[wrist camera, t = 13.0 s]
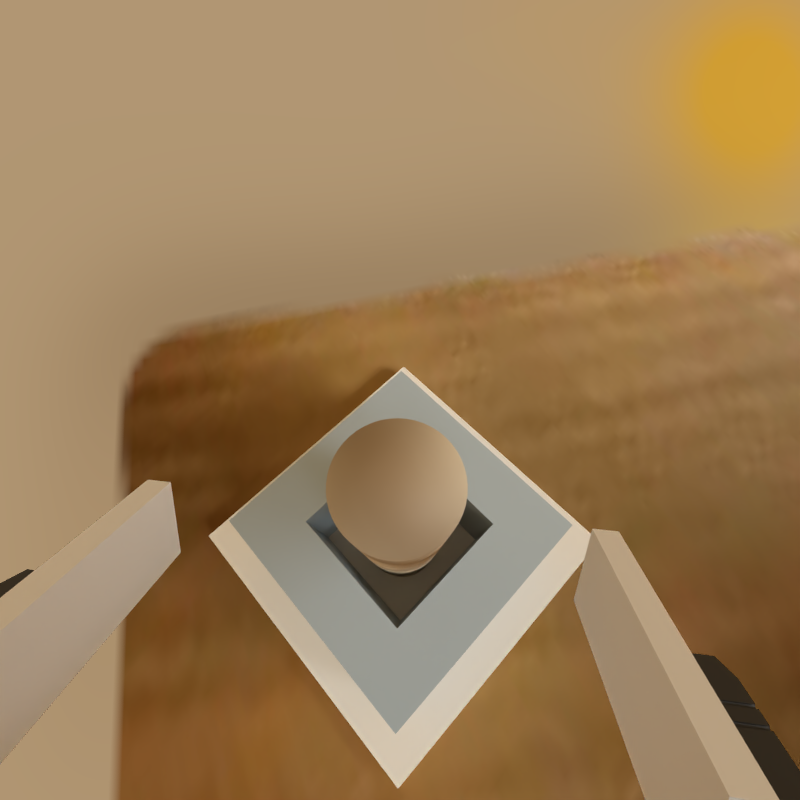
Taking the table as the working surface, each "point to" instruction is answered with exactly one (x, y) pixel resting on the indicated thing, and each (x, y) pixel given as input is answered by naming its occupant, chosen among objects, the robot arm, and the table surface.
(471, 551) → the socket block
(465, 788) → the table surface
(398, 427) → the birch peg
